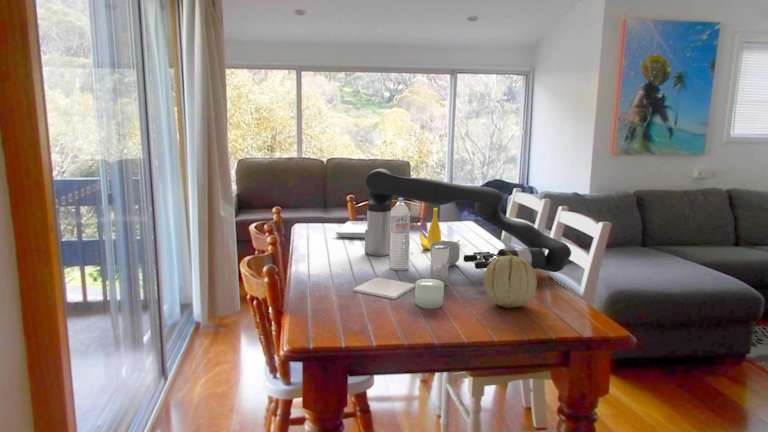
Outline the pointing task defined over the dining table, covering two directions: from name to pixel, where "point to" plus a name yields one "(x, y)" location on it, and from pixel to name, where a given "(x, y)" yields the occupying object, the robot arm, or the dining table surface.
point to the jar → (429, 293)
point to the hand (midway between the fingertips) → (469, 261)
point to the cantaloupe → (510, 281)
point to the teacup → (453, 250)
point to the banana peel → (432, 232)
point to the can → (440, 263)
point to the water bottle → (400, 236)
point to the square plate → (353, 229)
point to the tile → (384, 288)
